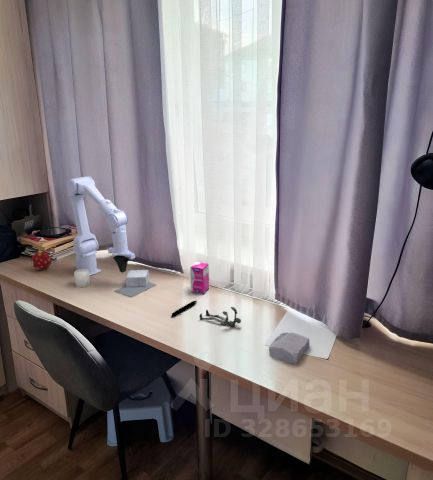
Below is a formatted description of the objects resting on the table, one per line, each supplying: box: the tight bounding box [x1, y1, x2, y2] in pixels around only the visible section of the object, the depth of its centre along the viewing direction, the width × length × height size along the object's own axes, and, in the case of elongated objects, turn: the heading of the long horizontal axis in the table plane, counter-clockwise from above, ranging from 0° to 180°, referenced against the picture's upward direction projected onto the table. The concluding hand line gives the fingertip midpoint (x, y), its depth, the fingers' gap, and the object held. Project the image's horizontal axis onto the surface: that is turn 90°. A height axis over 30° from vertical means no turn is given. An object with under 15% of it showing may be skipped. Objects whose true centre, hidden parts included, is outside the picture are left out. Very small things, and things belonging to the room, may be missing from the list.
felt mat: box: [114, 281, 157, 298], centre depth 165 cm, size 10×14×1 cm
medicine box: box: [125, 269, 150, 287], centre depth 169 cm, size 8×4×9 cm
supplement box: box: [189, 261, 210, 295], centre depth 160 cm, size 6×6×12 cm
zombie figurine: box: [199, 306, 242, 327], centre depth 136 cm, size 5×7×15 cm
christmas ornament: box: [31, 249, 52, 271], centre depth 186 cm, size 9×9×10 cm
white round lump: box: [73, 269, 91, 288], centre depth 170 cm, size 6×6×6 cm
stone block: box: [268, 331, 310, 365], centre depth 120 cm, size 12×5×10 cm
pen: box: [171, 300, 198, 318], centre depth 146 cm, size 2×14×2 cm, turn 143°
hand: (123, 271), depth 168 cm, fingers closed
